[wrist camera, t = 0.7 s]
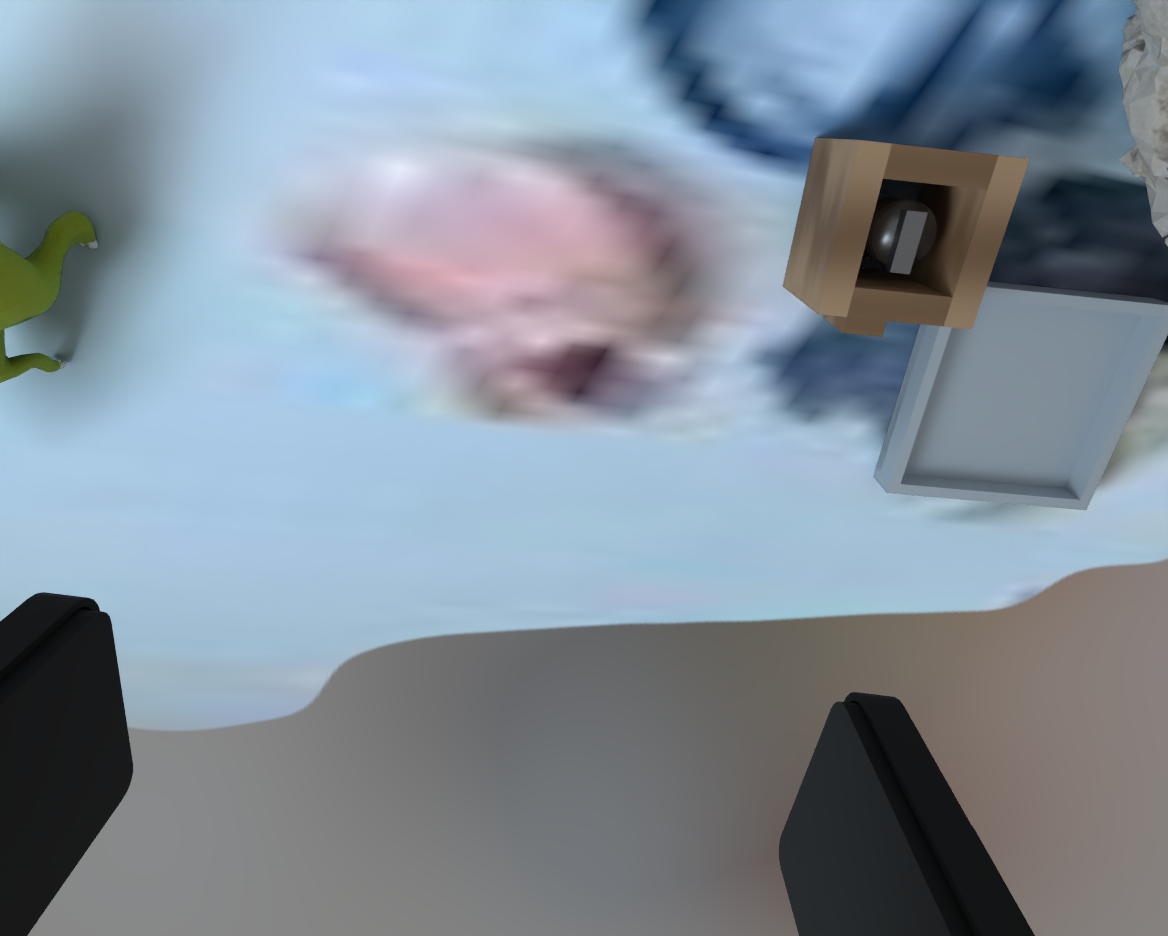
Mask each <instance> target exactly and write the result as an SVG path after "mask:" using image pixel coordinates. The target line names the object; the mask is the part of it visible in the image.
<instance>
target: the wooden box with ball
mask: <svg viewBox="0 0 1168 936" xmlns="http://www.w3.org/2000/svg"><path fill="white" fill-rule="evenodd" d="M1029 160H1030V159H1026V158H1017V157H1008V156H999V155H990V154H981V153H972V152H963V151H954V150H945V149H936V148H927V147H918V146H909V145H900V144H891V143H882V142H873V141H864V140H849V139H829V138H815V141H814V146H813V150H812V155H811V160H810V164H809V169H808V173H807V178H806V183H805V187H804V192H803V196H802V201H801V206H800V210H799V215H798V219H797V224H796V228H795V233H794V238H793V242H792V247H791V251H790V256H789V261H788V265H787V270H786V274H785V279H784V283H783V287H784V288H785V289H787V290H788V291H789V292H791V293H792V294H793V295H794V296H796V297H797V298H798V299H799V300H801V301H802V302H803V303H804V304H806V305H807V306H808V307H810V308H811V309H812V310H813V311H815V312H816V313H817V314H822V315H824V319H826V320H827V321H828V322H829V323H831V324H832V325H833V326H835V327H836V328H837V329H838V330H840V331H841V332H842V333H850V334H860V335H870V336H880V337H882V336H883V333H884V329H885V326H886V323H887V321H892V322H902V323H913V324H923V325H933V326H943V327H953V328H963V329H972V327H973V324H974V322H975V319H976V316H977V313H978V310H979V307H980V304H981V301H982V298H983V295H984V292H985V289H986V286H987V283H988V280H989V278H990V275H991V272H992V269H993V266H994V263H995V260H996V257H997V254H998V251H999V248H1000V245H1001V242H1002V239H1003V236H1004V234H1005V231H1006V228H1007V225H1008V222H1009V219H1010V216H1011V213H1012V210H1013V207H1014V204H1015V201H1016V198H1017V195H1018V192H1019V190H1020V187H1021V184H1022V181H1023V178H1024V175H1025V172H1026V169H1027V166H1028V163H1029ZM883 179H892V180H901V181H910V182H919V183H923V184H922V188H921V191H920V195H919V198H918V202H919V203H922V204H924V205H926V206H927V207H928V208H929V209H930V210H931V211H932V213H933V214H934V216H935V219H936V223H937V233H936V238H935V241H934V243H933V245H932V247H931V249H930V250H929V252H928V253H927V254H926V255H925V256H924V257H923V258H922V259H921V260H919V261H918V262H916V263H914V264H913V265H912V268H911V272H910V274H901V273H892V272H888V271H884V270H874V269H865V268H860V264H861V261H862V257H863V253H864V249H865V245H866V241H867V238H868V234H869V230H870V226H871V222H872V218H873V215H874V211H875V207H876V203H877V199H878V196H879V192H880V188H881V184H882V180H883Z"/></svg>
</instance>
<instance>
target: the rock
mask: <svg viewBox="0 0 1168 936" xmlns="http://www.w3.org/2000/svg"><path fill="white" fill-rule="evenodd" d="M1133 2H1134V3H1135V5H1136V7H1137V11H1136V13H1135V14H1134V16H1133V17H1131V18H1128V19H1127V22H1126V25H1125V28H1124V29H1123V30H1122V31H1123V33H1124V43H1123V44H1122V45H1123V54H1122V56H1121V61H1120V65H1119V72H1120V76H1121V80H1122V84H1123V89H1124V92H1123V99H1122V101H1123V105H1124V109H1125V113H1126V117H1127V120H1128V124H1129V128H1130V132H1131V135H1132V137H1133V139H1134V141H1135V143H1136V145H1135V146H1134V147H1132V148H1131V149H1130V150H1129V151H1128V152H1127V153H1126V154H1125V155H1123V156H1122V157H1121V158H1120V159H1119V161H1120V162H1121V163H1122V164H1124V165H1125V166H1126V167H1127V168H1129V169H1130V170H1131V171H1132V174H1133V175H1134V177H1144V180H1145V183H1146V186H1147V191H1148V197H1149V202H1150V208H1151V216H1152V223H1153V224H1154V226H1155V227H1156V229H1157V230H1158V232H1159V233H1160V235H1161V236H1162V237H1164V236H1166V235H1168V0H1133ZM1165 243H1166V244H1167V246H1168V237H1167V238H1166V239H1165Z"/></svg>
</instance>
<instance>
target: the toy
mask: <svg viewBox="0 0 1168 936" xmlns="http://www.w3.org/2000/svg"><path fill="white" fill-rule="evenodd" d="M75 243H78V244H79V245H81V246H85V245H88V246H89V247H90V248H91V249H95V248H98V242H97V241H96V237H95V232H94V228H93V226H92V224H91V221H90V220H89V219H88V218H87V217H86V216H85V215H84V214H82V213H81V212H76V211H70V212H68V213H66V214H64V215H63V216H61V217H60V218H58V219H56V220H55V221H54V222H52V223H51V224H50V226H49V228H48V230H47V232H46V235H45V238H44V240H43V242H42V244H41V245H40V246H39V247H38V248H37V249H36V250H35V251H34V252H33V253H32V254H31V255H30V256H29V257H28V258H25V259H24V258H23V257H22V256H20V255H19V254H18V253H16V252H14V251H13V250H11V249H9V248H8V247H6V246H5V245H3V244H2V243H1V242H0V383H1V382H4V381H6V380H9V379H11V378H14V377H17V376H19V375H20V374H22V373H24V372H26V371H27V370H29V369H31V368H34V367H35V368H38V369H41V370H44V371H46V372H53V371H56V370H58V369H60V368H63V367H65V366H66V365H67V362H62V363H61V359H57V360H53V358H52V357H48V356H46V355H44V354H40V353H33V354H25V355H19V356H15V357H11V358H8V357H7V356H6V353H5V344H4V329H5V328H8V327H11V326H13V325H16V324H19V323H21V322H24V321H26V320H29V319H31V318H33V317H36V316H38V315H40V314H42V313H44V312H45V311H47V310H48V309H49V308H50V307H51V306H52V304H53V303H54V301H55V300H56V299H57V296H58V293H59V290H60V280H61V272H62V267H63V262H64V258H65V255H66V253H67V252H68V250H69V249H70V247H71V246H72V245H73V244H75Z"/></svg>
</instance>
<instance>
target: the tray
mask: <svg viewBox="0 0 1168 936" xmlns="http://www.w3.org/2000/svg"><path fill="white" fill-rule="evenodd" d="M1167 335H1168V303H1167V302H1163V301H1160V300H1157V299H1153V298H1147V297H1138V296H1128V295H1118V294H1108V293H1099V292H1089V291H1079V290H1069V289H1060V288H1050V287H1040V286H1030V285H1021V284H1011V283H1001V282H991V281H988V283H987V286H986V289H985V292H984V295H983V298H982V301H981V304H980V307H979V310H978V313H977V316H976V319H975V322H974V324H973V327H972V329H963V328H953V327H943V326H933V325H923V324H920V328H919V331H918V334H917V337H916V341H915V344H914V347H913V350H912V354H911V357H910V360H909V363H908V367H907V370H906V373H905V376H904V379H903V383H902V386H901V389H900V392H899V396H898V399H897V402H896V405H895V409H894V412H893V415H892V418H891V422H890V425H889V428H888V431H887V435H886V438H885V441H884V444H883V448H882V451H881V454H880V457H879V461H878V464H877V467H876V470H875V474H874V478H875V479H876V480H877V482H878V483H879V484H880V485H881V486H882V488H883V489H884V490H885V491H886V492H887V493H895V494H906V495H918V496H929V497H941V498H952V499H964V500H975V501H986V502H998V503H1009V504H1021V505H1032V506H1044V507H1055V508H1067V509H1078V510H1087V507H1088V505H1089V503H1090V501H1091V499H1092V497H1093V495H1094V492H1095V490H1096V488H1097V486H1098V484H1099V482H1100V479H1101V477H1102V475H1103V473H1104V471H1105V469H1106V467H1107V464H1108V462H1109V460H1110V458H1111V456H1112V454H1113V451H1114V449H1115V447H1116V445H1117V443H1118V441H1119V439H1120V436H1121V434H1122V432H1123V430H1124V428H1125V426H1126V423H1127V421H1128V419H1129V417H1130V415H1131V413H1132V410H1133V408H1134V406H1135V404H1136V402H1137V400H1138V398H1139V395H1140V393H1141V391H1142V389H1143V387H1144V385H1145V382H1146V380H1147V378H1148V376H1149V374H1150V372H1151V370H1152V367H1153V365H1154V363H1155V361H1156V359H1157V357H1158V354H1159V352H1160V350H1161V348H1162V346H1163V344H1164V341H1165V339H1166V337H1167Z"/></svg>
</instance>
